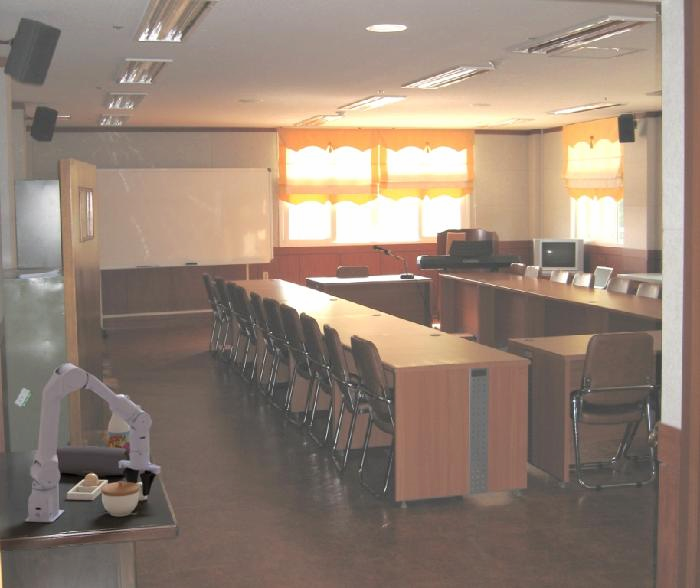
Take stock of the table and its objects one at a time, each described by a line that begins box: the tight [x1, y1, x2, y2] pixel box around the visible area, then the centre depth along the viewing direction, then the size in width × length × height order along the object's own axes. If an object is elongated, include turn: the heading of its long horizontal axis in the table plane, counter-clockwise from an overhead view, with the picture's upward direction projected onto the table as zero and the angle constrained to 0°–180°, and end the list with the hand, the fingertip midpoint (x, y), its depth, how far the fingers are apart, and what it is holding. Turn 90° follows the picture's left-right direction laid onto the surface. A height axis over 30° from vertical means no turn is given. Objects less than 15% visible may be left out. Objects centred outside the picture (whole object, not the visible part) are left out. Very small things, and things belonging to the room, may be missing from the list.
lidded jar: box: [101, 480, 139, 517], centre depth 281 cm, size 11×11×9 cm
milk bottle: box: [107, 411, 131, 455], centre depth 335 cm, size 8×8×20 cm
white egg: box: [136, 481, 148, 502], centre depth 293 cm, size 4×4×5 cm
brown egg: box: [84, 473, 99, 486], centre depth 302 cm, size 4×4×5 cm
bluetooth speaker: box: [56, 445, 130, 477], centre depth 317 cm, size 23×9×10 cm, turn 84°
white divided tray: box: [66, 478, 109, 501], centre depth 299 cm, size 14×8×2 cm, turn 176°
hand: (139, 493), depth 293 cm, fingers closed on white egg, 4 cm apart
